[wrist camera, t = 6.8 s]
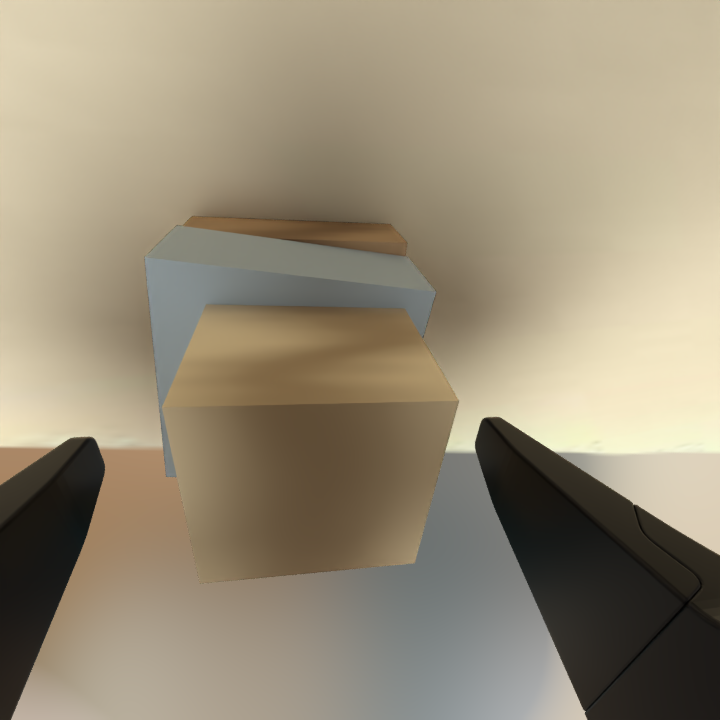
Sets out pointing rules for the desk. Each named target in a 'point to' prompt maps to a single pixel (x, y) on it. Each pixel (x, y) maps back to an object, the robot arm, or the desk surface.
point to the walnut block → (312, 232)
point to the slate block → (263, 287)
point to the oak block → (306, 439)
